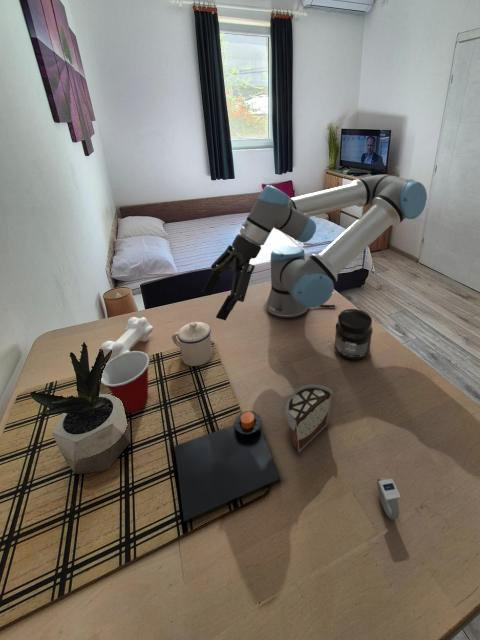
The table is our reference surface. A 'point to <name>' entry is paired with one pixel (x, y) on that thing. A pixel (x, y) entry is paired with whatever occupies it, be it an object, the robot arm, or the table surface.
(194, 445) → the scale
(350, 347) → the supplement container
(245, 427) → the tare button
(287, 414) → the slice of cake
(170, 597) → the table surface
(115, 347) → the bone shaped toy
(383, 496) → the wristwatch
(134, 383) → the plastic cup
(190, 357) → the teacup with lid
